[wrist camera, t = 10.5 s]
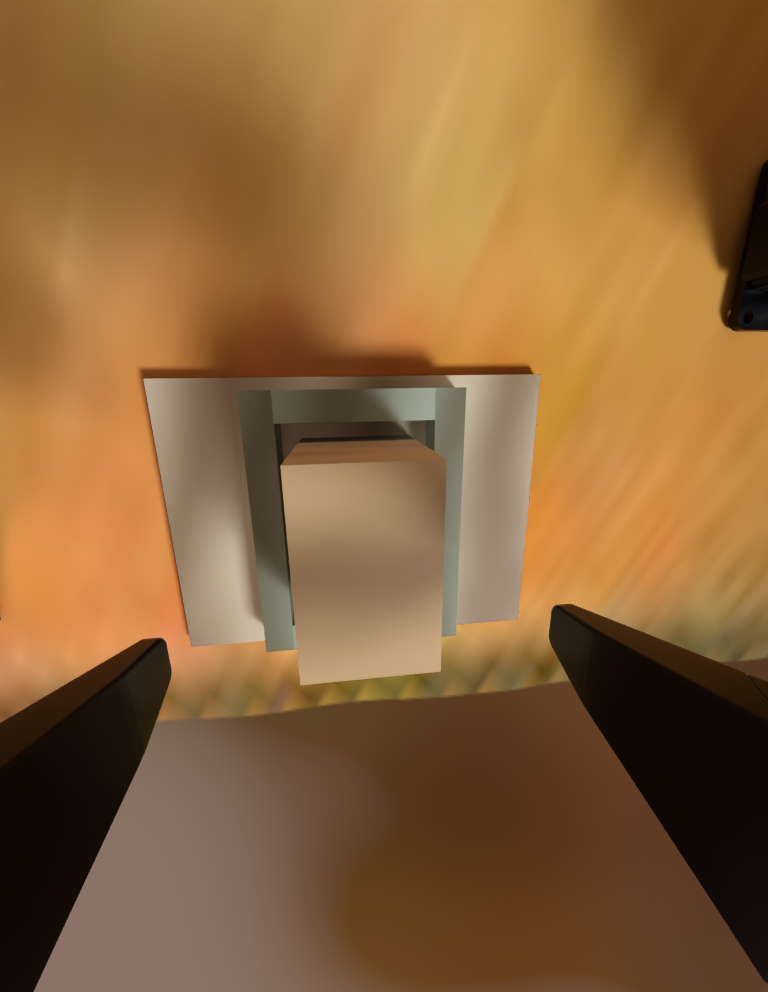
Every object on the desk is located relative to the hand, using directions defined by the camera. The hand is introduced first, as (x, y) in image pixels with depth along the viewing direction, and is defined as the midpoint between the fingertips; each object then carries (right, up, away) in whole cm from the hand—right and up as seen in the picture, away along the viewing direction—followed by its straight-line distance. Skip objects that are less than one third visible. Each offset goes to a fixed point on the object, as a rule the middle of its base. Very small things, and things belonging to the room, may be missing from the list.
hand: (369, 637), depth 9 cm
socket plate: (-1, +2, +9) cm, 9 cm away
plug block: (-1, +2, +8) cm, 9 cm away
